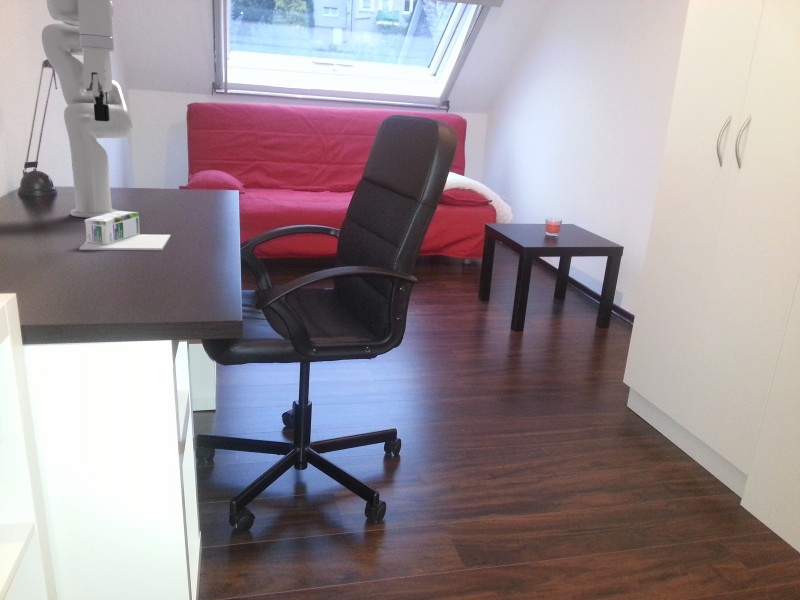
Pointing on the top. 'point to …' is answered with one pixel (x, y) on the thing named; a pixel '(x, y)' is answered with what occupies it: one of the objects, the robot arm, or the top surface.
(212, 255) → the top surface
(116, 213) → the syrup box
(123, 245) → the mat
